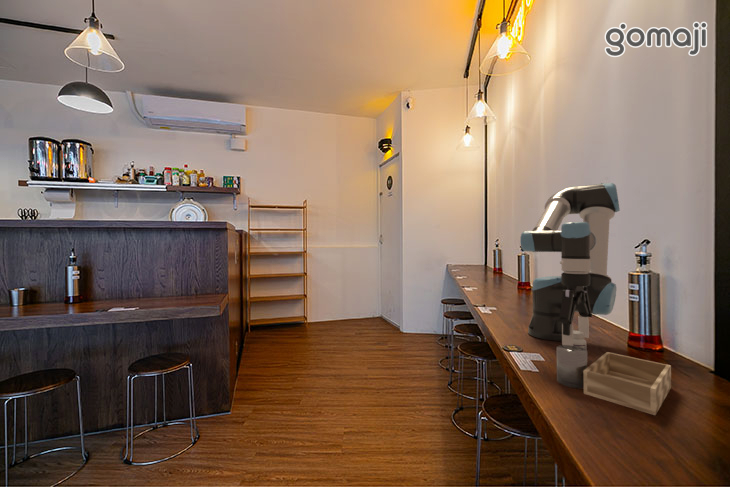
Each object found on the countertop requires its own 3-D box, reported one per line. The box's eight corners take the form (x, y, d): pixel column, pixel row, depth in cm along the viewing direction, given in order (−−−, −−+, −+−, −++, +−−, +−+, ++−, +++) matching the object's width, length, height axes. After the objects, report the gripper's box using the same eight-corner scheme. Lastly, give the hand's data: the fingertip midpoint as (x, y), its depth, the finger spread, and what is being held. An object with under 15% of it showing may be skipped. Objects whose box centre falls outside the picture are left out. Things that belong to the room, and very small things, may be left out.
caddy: (607, 371, 95) (606, 351, 95) (671, 387, 84) (670, 365, 84) (583, 393, 82) (583, 370, 82) (655, 415, 72) (655, 389, 72)
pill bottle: (568, 358, 106) (568, 328, 105) (588, 362, 102) (588, 331, 102) (564, 363, 102) (563, 332, 102) (584, 367, 98) (584, 335, 98)
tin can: (562, 374, 93) (562, 343, 93) (591, 382, 88) (591, 349, 88) (552, 382, 89) (552, 349, 89) (582, 391, 84) (581, 356, 83)
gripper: (576, 269, 112) (576, 331, 112) (545, 274, 96) (546, 346, 96) (602, 270, 106) (602, 336, 106) (574, 276, 90) (575, 353, 90)
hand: (575, 341), depth 101 cm, fingers open, 13 cm apart
